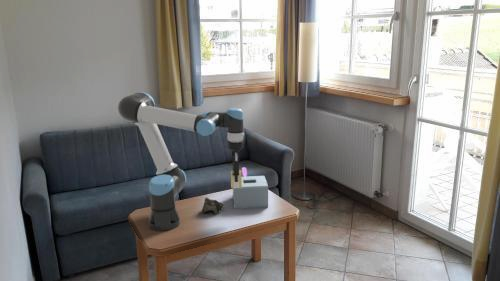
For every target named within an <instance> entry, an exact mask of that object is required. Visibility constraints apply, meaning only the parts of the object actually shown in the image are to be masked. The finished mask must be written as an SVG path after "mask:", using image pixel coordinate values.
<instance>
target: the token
mask: <svg viewBox="0 0 500 281" xmlns="http://www.w3.org/2000/svg"><path fill="white" fill-rule="evenodd" d="M232 174H234V171H233V170H230V187H231V189H233V176H232ZM241 177H242V170H239V188H242V179H241Z"/></svg>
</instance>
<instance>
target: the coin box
mask: <svg viewBox="0 0 500 281" xmlns="http://www.w3.org/2000/svg"><path fill="white" fill-rule="evenodd" d="M241 179H242V188H232V199H233V205H234V206H233V208H234V209H252V208H256V209H257V208H268V207H269V185H268V182H267V179H266V177H265V175H254V176H253V175H251V176H250V175H247V176H246V177H242V176H241Z"/></svg>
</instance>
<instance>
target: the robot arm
mask: <svg viewBox="0 0 500 281" xmlns="http://www.w3.org/2000/svg"><path fill="white" fill-rule="evenodd" d="M117 111H118V114H119V116H120V117H121V118H123V119H124V120H126V121H128V122H132V123H133V124H134V125H136V126H137V127H138V128H139V131H140V133H141V136H142V137H143V139H144V140H143V141H144V142H145V144H146V147H147V149H148V151H149V153H150V156H151V158H152V160H153V163H154V166H155V167H156V169H157V170H156V172H155V174H156V176H154V177H152V178H151V179H150V180H149V183H148V190H149V191H148V192H149V200H150V201H149V202H150V213H149V217H148V222H147V223H148V227H149V229H151V230H152V231H158V232H159V231H161V232H162V231H163V232H164V231H169V230H172V229H175V228H177V227H178V226H179V225H180V223H181V218H180V215H179V213H178V210H177V209H176V197H177V195H178V194H179V193H180V192H181V191H182V190H183V189H184V187H185V186H186V184H187V176H186V172H185V171H184V170H182V169H180V168H179V165H178V164H177V163H175V162H174V161H173V159H172V157H171V154H170V152H169V150H168V147H167V145H166V143H165V141H164V138H163V136H162V133H161V131H160V129H159V125H161V126H165V127H171V128H174V129H180V130H185V131H190V132H196V133H198V135H201V136H203V137H206V136H210V135H212V134H213V133H214V132H215V131H216V130H217V129H227V149H229V150H231V160H232V171H234V174H232V176H233V188H239V171H240V156H241V153H240V150H243V148H244V136H245V132H244V112H243V109H242V108H240V107H230V108H228V109H227V111H226V112H222V111H220V112H218V111H217V112H216V111H204V112H203V113H202V115H198V114H193V113H189V112H183V111H178V110H172V109H168V108H162V107H157V106H156V104H155V100H154V98H153V96H151V94H149V93H146V92H136V93H134V94H133V93H132V94H130V95H126V96H124V97H123V98H122V99H121V100H119V102H118V106H117ZM233 188H232V189H233Z"/></svg>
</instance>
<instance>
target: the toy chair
mask: <svg viewBox="0 0 500 281" xmlns="http://www.w3.org/2000/svg"><path fill="white" fill-rule="evenodd" d="M247 170H248V169H247V167H244V166H243V167H242V168H241V177H246V176H248V171H247Z"/></svg>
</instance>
